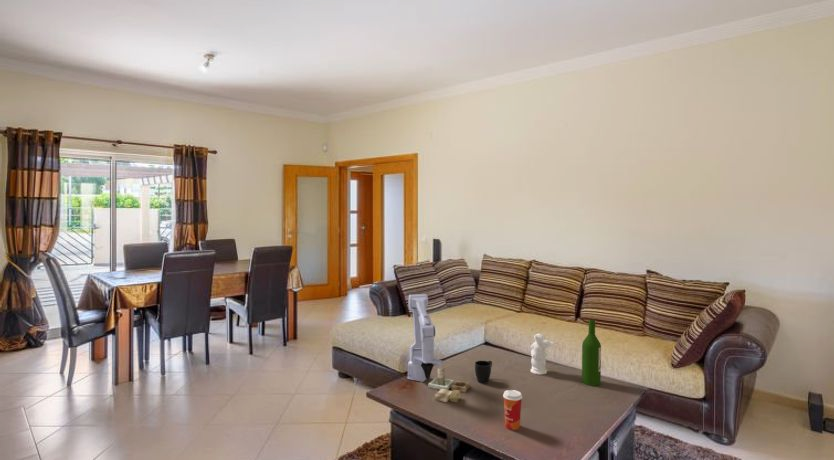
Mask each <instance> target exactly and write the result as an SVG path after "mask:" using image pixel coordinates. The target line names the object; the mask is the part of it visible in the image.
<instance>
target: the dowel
mask: <svg viewBox="0 0 834 460" xmlns="http://www.w3.org/2000/svg"><path fill="white" fill-rule="evenodd" d="M445 373H446V371H445V368H444V367H437V377H438V385H442V386H444V385H445V379H446V375H445Z"/></svg>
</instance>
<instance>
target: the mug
mask: <svg viewBox="0 0 834 460" xmlns="http://www.w3.org/2000/svg"><path fill="white" fill-rule="evenodd" d="M492 366H493V361H492V360H488V361H487V360H477V361H475V363H474V372H475V377H476V380H477V383H479V384H488V383H489V381H490V377H491V374H492V373H491V372H492Z"/></svg>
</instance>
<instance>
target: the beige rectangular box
mask: <svg viewBox="0 0 834 460" xmlns="http://www.w3.org/2000/svg"><path fill="white" fill-rule="evenodd" d="M452 391H453V390H449V389H448V390H445V389H441V390H439V391H437V393H435V394H434V400H435V401H439V402H445V403H447V402H448V401H450V393H451V392H452Z"/></svg>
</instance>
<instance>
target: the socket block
mask: <svg viewBox="0 0 834 460" xmlns="http://www.w3.org/2000/svg"><path fill="white" fill-rule="evenodd" d="M470 384H471V383H470V382H465V381H459V380H455V381H454V384H453V385H452V386H451V391H453V390H459V391H460V393H466V392H467V391H468V389H470V387H471V385H470Z"/></svg>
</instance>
